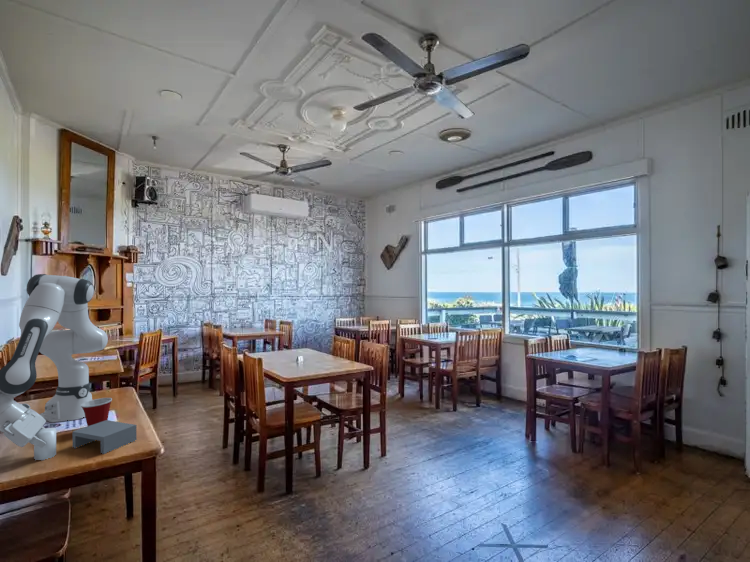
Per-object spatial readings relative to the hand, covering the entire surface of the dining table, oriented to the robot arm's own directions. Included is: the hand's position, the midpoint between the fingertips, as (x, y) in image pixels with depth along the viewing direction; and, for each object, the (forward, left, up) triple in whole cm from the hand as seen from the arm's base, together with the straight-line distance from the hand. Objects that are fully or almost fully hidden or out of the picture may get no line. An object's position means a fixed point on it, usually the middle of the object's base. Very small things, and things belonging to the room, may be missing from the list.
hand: (47, 441), depth 144 cm
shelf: (+9, +15, -5) cm, 18 cm away
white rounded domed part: (0, 0, -5) cm, 5 cm away
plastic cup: (-8, +24, -5) cm, 26 cm away
